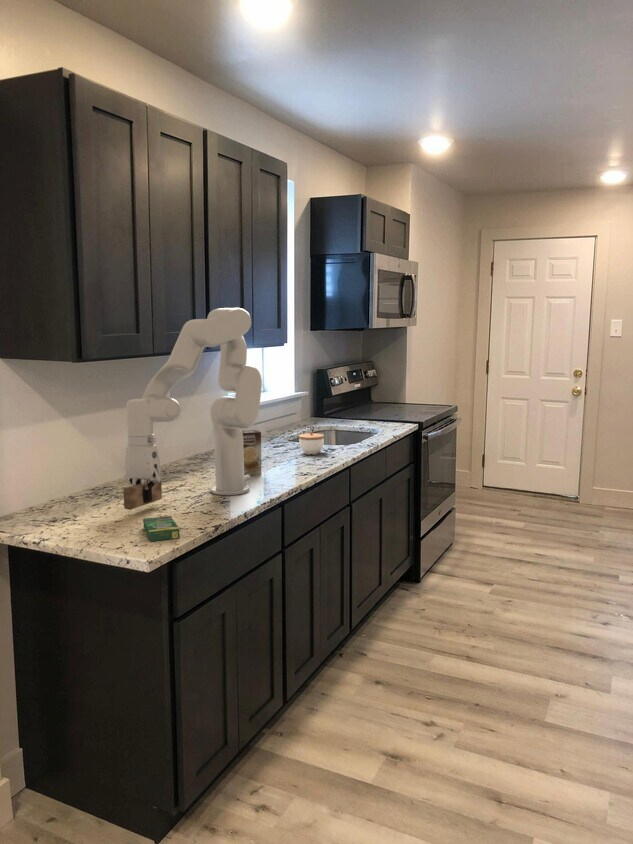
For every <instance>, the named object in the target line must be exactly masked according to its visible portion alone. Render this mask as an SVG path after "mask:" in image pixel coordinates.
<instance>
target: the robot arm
mask: <svg viewBox="0 0 633 844" xmlns="http://www.w3.org/2000/svg"><path fill="white" fill-rule="evenodd" d="M251 327H252V317H251V315H250V313H249V312H248V311H247V310H245V309H244V308H240V307H224V308H223V307H222V308H215V309H212V310H211V311H210V312H209V313H208V314H207V318H199V319H198V318H196V319H195V318H194V319H190V320H188V321H186V322H185V323H184V324H183V326H182V328H181V330H180V332H179V335H178V337H177V340H176V342H175V344H174V346H173V349H172V351H171V352H170V355H169V357H168V359H167V361H166V362H165V364H164V365H162V367H161V368H159V370H158V371H157V372H156V373H155V374H154V375H153V377H152V378H151V379H150V381H149V383H148V385H147V386H146V388H145V391H144V393H143V396H142V397H141V398H135V399H134V398H133V399H129V400H127V402H126V407H125V408H126V427H127V430H126V431H127V445H126V450H125V459H124V461H125V464H124V466H125V475H124V479H126V480H127V481H129V483H130V484H131V486H134V485H137V484H140V483H144V488H145V489H144V490H143V499H144V503H147V502H150V501H152V488H153V487H154V485H155V484H156V483H158V482H160V481H161V482H162V480H161V474H162V471H161V461H160V454H159V450H158V447H157V445H156V444H155V443H156V442H157V438H156V437H154V435H155V433H154V431H155V430H154V429H155V428H154V423H171V422H174V421H176V420H177V419H178V418H179V416H180V415H181V411H182V410H181V406H180V403H179V402H178V401H177V400H176V399H174V398H172V397H167V396H168V394H169V393H170V391H171V390H172V388H174V386H176V385H177V384H178V383H179V382H181V381H183V380H185V379H187V378H188V377H190V376H191V375H192V374H194V372H195V370H196V368H197V365H198V363H199V361H200V359H201V356H202V354H203V351H204V350H205V348H207V347H208V348H213V347H214V348H215V347H218V346H220V359H219V368H218V377H217V379H218V380H217V383H218V386H219V388H220V389H221V390H222V391H224V392H227V393H232V394H235V395H234V396H228V395H227V396H225V395H224V396H221V397H217V398H216V399H215V400H213V402H212V404H211V406H210V410H209V411H210V414H209V415H210V419H211V423H212V429H213V430H212V431H213V437H214V439H213V442H214V443H213V445H214V467H215V468H214V470H215V485H214V486H212V487H211V488H210V489H211V490H210V492H211V493H212V494H214V495H217V496H218V495H219V496H237V495H243V494H245V493H248V492H249V491H250V486H249V485H248V484H246V482H247V481H250V479H251V476H250V475H248V474H247V475H244V450H243V434H242V431H243V429H249V428H251V427H252V426H254V425H255V424H256V422H257V420H258V418H259V413H260V405H261V396H262V388H263V387H262V386H263V384H262V383H263V379H262V375H261V373H260V371H259V370H258V368H257V367H256V366H254V365H251V364H247V357H248V353H247V352H248V347H247V343H246V340H245V338H244V335H245V334H247V333H248V332H249V330H250V328H251ZM153 479H154V480H153ZM142 480H143V482H142ZM148 481H149V483H148Z"/></svg>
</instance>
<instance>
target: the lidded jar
mask: <svg viewBox="0 0 633 844" xmlns="http://www.w3.org/2000/svg"><path fill="white" fill-rule="evenodd" d="M298 439H299V441H298V442H299V447H300V450H301V451H302V452H303V453H304V454H305V455H310V454H313V455H318V454H317V453H319V454H320V452H321V451H322V450H323V447H324V443H325V434H323V433H317V432H316V433H315V432H314V431H310V433H309V432H307V433H301V434H299V435H298Z"/></svg>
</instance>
